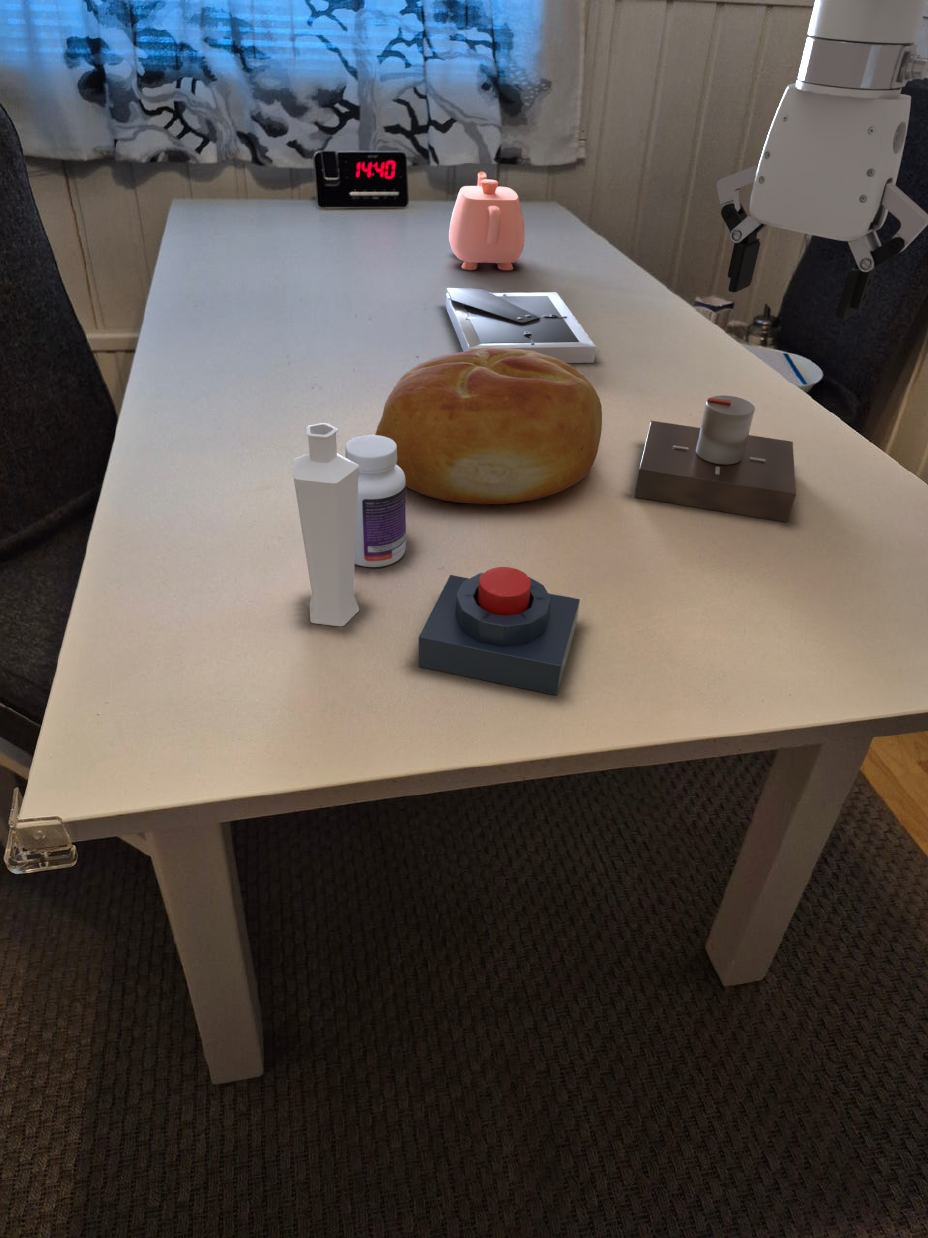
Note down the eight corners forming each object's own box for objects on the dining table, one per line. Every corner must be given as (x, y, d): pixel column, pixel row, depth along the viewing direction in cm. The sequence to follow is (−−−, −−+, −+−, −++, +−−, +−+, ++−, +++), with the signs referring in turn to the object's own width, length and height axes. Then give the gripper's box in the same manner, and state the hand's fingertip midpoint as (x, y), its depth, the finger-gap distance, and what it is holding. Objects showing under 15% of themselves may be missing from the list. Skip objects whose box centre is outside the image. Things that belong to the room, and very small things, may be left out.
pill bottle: (415, 541, 75) (416, 437, 69) (391, 575, 71) (389, 467, 65) (357, 528, 76) (353, 425, 71) (330, 560, 72) (323, 453, 66)
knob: (742, 447, 85) (756, 395, 82) (742, 468, 82) (755, 414, 79) (696, 440, 86) (708, 389, 83) (694, 460, 83) (705, 407, 79)
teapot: (530, 280, 135) (538, 195, 128) (454, 279, 134) (457, 193, 126) (511, 244, 151) (516, 166, 143) (442, 243, 149) (444, 165, 142)
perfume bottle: (314, 637, 64) (299, 451, 55) (295, 604, 67) (277, 423, 58) (372, 621, 66) (367, 438, 57) (351, 590, 69) (342, 412, 60)
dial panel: (784, 468, 89) (793, 439, 87) (787, 522, 80) (796, 492, 78) (646, 446, 91) (651, 418, 89) (634, 497, 83) (639, 467, 81)
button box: (575, 627, 67) (583, 578, 64) (556, 695, 60) (564, 645, 58) (449, 602, 68) (450, 554, 66) (418, 666, 62) (418, 616, 60)
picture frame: (446, 308, 123) (468, 365, 107) (446, 287, 121) (469, 342, 105) (555, 307, 125) (593, 362, 109) (557, 286, 124) (596, 340, 107)
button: (533, 591, 63) (535, 571, 62) (523, 621, 60) (525, 600, 59) (484, 582, 64) (486, 562, 63) (472, 611, 61) (473, 590, 60)
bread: (339, 428, 92) (334, 334, 86) (538, 399, 100) (547, 311, 94) (417, 539, 75) (418, 432, 69) (648, 494, 83) (667, 394, 77)
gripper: (989, 79, 63) (906, 316, 74) (765, 54, 72) (719, 270, 82) (959, 86, 59) (875, 339, 69) (723, 59, 67) (680, 288, 78)
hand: (790, 301), depth 76 cm, fingers open, 9 cm apart
